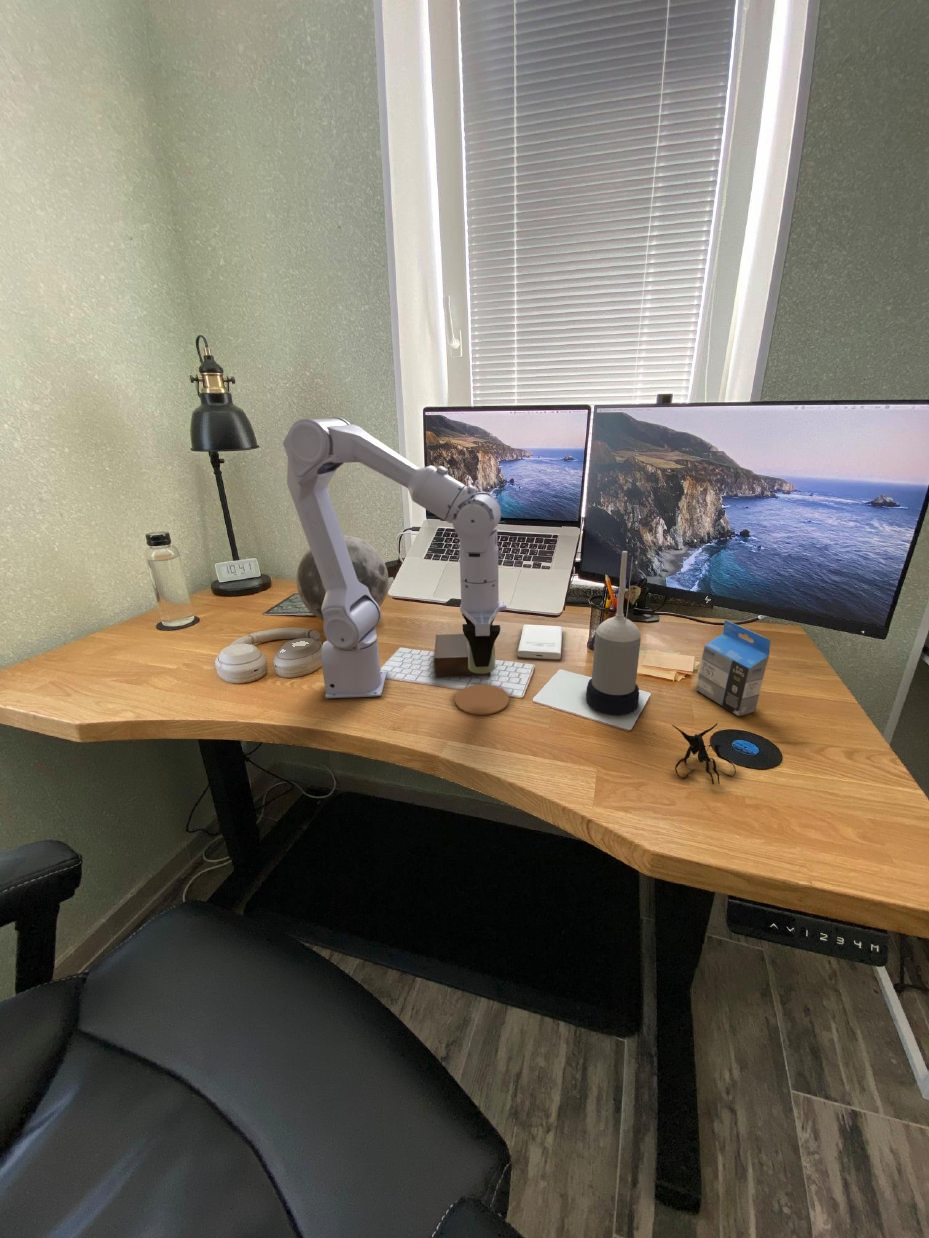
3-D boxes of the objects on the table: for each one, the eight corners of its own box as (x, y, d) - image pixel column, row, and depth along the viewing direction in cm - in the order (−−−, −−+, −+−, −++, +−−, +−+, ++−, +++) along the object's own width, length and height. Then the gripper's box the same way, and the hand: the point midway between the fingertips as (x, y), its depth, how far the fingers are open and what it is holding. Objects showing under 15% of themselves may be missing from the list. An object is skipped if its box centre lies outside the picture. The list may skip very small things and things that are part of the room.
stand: (435, 677, 91) (434, 658, 89) (437, 652, 100) (435, 634, 99) (490, 675, 91) (490, 656, 89) (487, 651, 100) (486, 632, 99)
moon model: (303, 612, 123) (289, 531, 115) (384, 601, 128) (377, 523, 120) (304, 645, 105) (288, 552, 97) (399, 631, 110) (391, 542, 103)
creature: (743, 791, 64) (715, 742, 70) (756, 764, 61) (726, 715, 67) (682, 794, 64) (659, 745, 70) (692, 767, 60) (667, 718, 67)
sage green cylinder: (468, 674, 79) (466, 633, 77) (467, 661, 83) (466, 622, 81) (496, 673, 79) (495, 632, 77) (494, 660, 83) (493, 621, 81)
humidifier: (616, 684, 87) (630, 542, 77) (649, 708, 80) (668, 555, 70) (576, 694, 84) (585, 549, 74) (605, 720, 77) (619, 563, 67)
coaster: (454, 716, 79) (454, 714, 79) (454, 687, 88) (454, 685, 88) (511, 714, 79) (511, 712, 79) (506, 685, 88) (506, 683, 88)
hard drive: (562, 633, 107) (560, 660, 96) (523, 631, 109) (517, 657, 97) (562, 626, 106) (560, 652, 95) (523, 624, 108) (517, 649, 97)
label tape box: (694, 690, 84) (705, 622, 79) (713, 685, 86) (725, 618, 81) (737, 717, 77) (753, 644, 72) (757, 711, 78) (774, 639, 73)
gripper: (511, 593, 69) (510, 680, 74) (501, 562, 82) (502, 638, 87) (459, 595, 69) (462, 681, 74) (458, 564, 82) (461, 639, 87)
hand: (481, 658), depth 81 cm, fingers closed on sage green cylinder, 4 cm apart
